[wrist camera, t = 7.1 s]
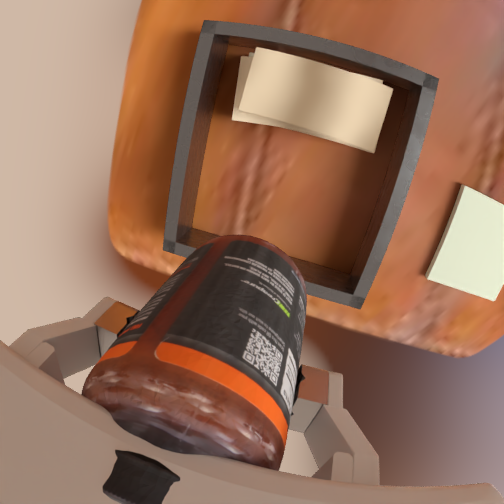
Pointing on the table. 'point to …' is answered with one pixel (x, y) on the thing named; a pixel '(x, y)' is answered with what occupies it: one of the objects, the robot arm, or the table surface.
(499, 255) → the mat
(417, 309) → the table surface
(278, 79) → the offcut stack
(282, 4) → the table surface
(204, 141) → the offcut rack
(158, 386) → the supplement bottle
